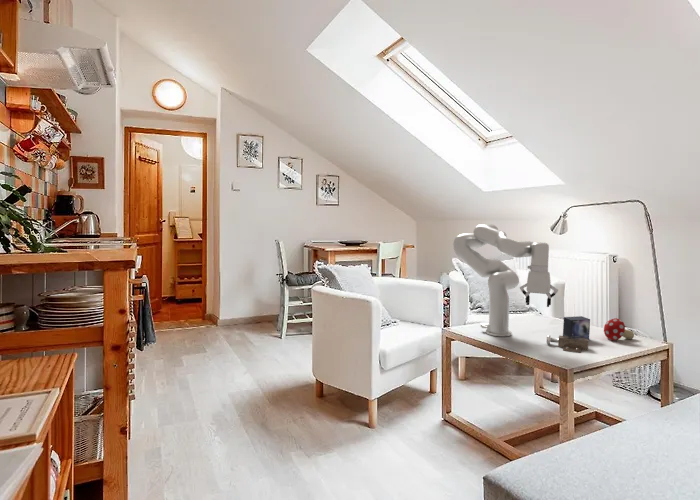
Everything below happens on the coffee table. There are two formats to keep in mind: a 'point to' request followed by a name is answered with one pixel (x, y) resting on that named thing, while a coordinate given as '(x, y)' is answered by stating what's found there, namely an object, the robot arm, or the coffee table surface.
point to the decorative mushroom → (616, 330)
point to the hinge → (573, 343)
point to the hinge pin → (551, 339)
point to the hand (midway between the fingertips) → (538, 305)
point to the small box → (576, 327)
